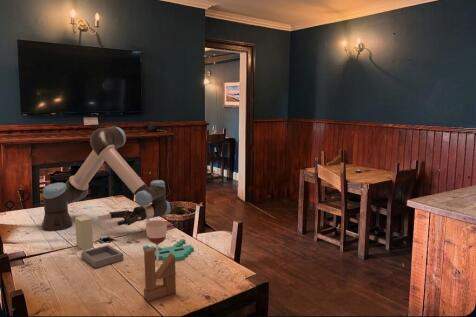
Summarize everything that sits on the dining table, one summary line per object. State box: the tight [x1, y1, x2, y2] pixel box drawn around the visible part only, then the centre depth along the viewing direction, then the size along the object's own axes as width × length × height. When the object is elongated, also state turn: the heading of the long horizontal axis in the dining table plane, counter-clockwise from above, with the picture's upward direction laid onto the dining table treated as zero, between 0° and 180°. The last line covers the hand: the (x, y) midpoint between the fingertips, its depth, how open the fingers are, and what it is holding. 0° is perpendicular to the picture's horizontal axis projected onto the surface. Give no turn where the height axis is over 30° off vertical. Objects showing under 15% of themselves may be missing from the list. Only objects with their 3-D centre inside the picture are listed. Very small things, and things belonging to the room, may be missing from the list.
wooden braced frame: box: [143, 248, 177, 302], centre depth 136 cm, size 4×11×18 cm, turn 126°
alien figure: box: [142, 238, 195, 262], centre depth 175 cm, size 20×2×20 cm
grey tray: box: [80, 244, 124, 270], centre depth 168 cm, size 14×12×3 cm
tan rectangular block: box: [74, 215, 94, 251], centre depth 182 cm, size 7×5×14 cm
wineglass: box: [145, 219, 168, 273], centre depth 155 cm, size 8×9×20 cm
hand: (104, 221), depth 188 cm, fingers open, 13 cm apart
